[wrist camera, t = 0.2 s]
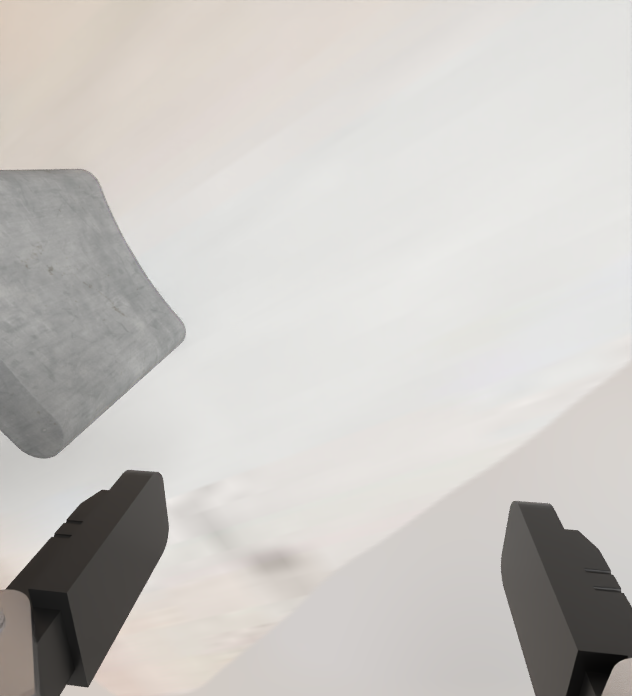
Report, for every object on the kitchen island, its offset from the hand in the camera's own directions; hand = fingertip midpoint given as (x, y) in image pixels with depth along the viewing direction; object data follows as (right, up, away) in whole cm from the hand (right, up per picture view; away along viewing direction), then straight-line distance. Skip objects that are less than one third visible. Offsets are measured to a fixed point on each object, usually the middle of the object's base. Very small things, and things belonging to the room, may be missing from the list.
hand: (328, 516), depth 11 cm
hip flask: (-16, +11, +30) cm, 35 cm away
